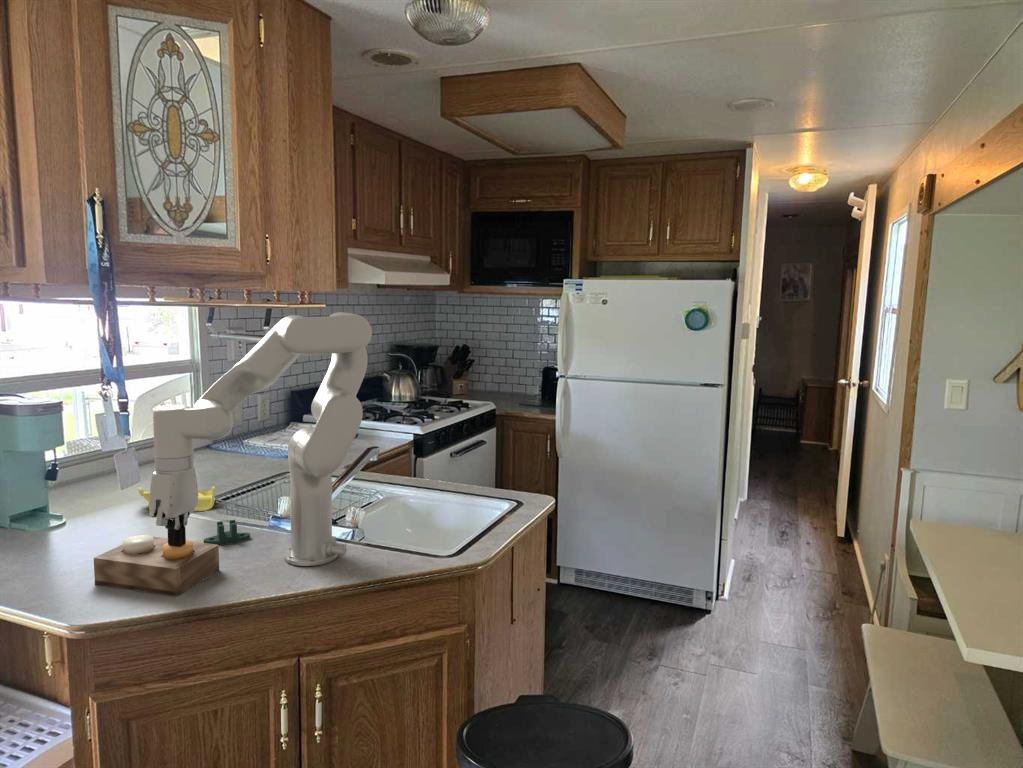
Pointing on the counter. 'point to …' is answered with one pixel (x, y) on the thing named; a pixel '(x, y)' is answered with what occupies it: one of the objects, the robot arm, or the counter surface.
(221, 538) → the mount
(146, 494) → the plastic component
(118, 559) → the wooden peg board
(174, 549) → the orange button
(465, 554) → the counter surface
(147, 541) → the cream button
